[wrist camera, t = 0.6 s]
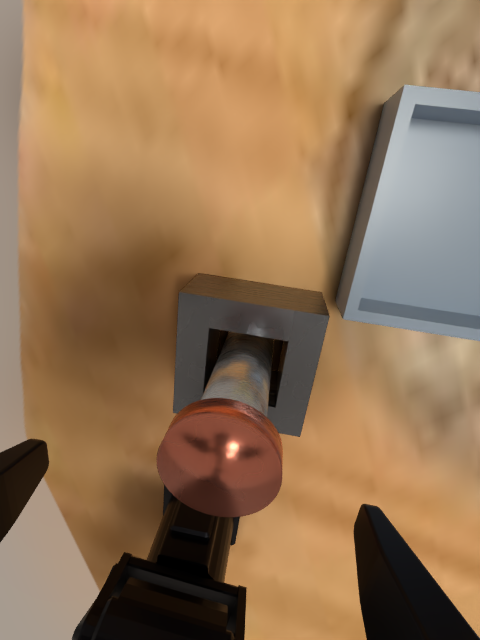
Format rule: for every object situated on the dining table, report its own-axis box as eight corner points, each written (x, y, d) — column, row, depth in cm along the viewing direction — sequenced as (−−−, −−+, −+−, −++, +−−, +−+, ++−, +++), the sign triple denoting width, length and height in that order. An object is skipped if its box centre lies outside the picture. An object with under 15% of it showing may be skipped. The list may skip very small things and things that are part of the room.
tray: (512, 328, 19) (551, 352, 16) (335, 300, 20) (343, 319, 17) (611, 127, 15) (684, 113, 12) (384, 102, 16) (404, 84, 13)
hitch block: (297, 396, 22) (299, 436, 19) (191, 377, 23) (172, 412, 19) (321, 292, 20) (329, 316, 16) (198, 273, 20) (178, 292, 17)
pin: (278, 372, 22) (271, 528, 12) (215, 361, 22) (155, 503, 12) (290, 312, 20) (293, 434, 10) (221, 301, 21) (157, 408, 11)
